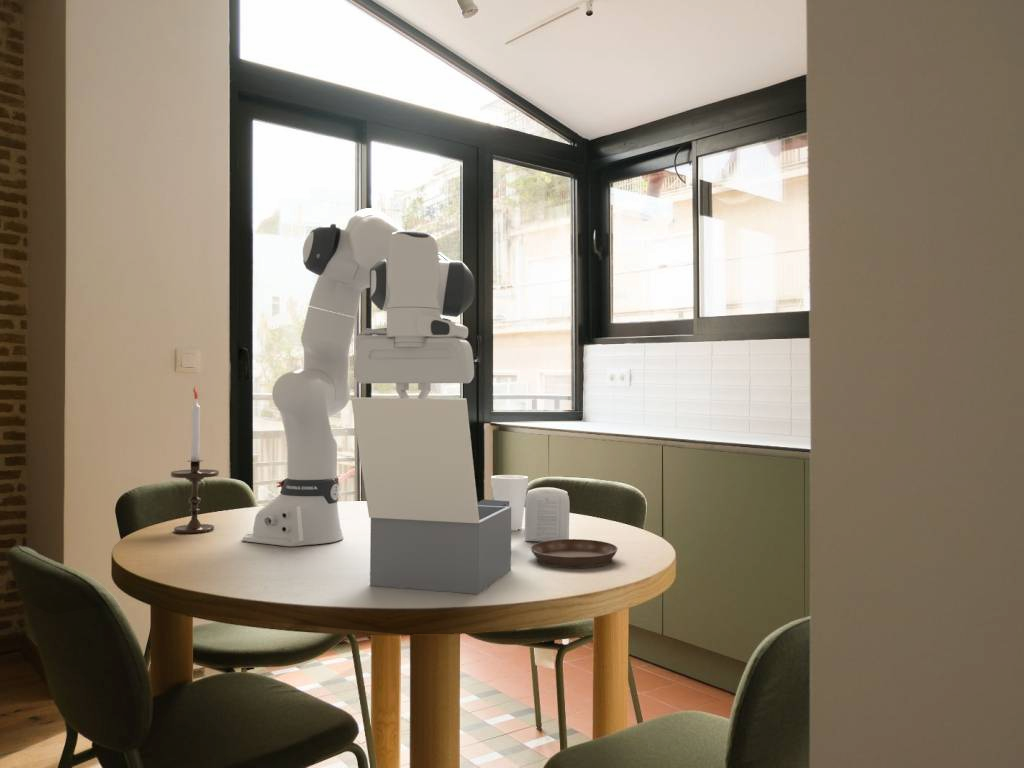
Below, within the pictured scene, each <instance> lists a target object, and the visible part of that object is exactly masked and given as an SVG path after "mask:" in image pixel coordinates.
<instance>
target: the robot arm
mask: <svg viewBox="0 0 1024 768" xmlns="http://www.w3.org/2000/svg"><path fill="white" fill-rule="evenodd" d="M336 224H337V223H331V224H330V225H324V226H323V225H322V226H318V227H316V228H313V229H312V230H311V231H310V232H309V234H308V236H307V237H306V239H305V241H304V243H303V247H302V259H303V264H304V267H305V269H306V270H308V271H310V272H311V273H313V274H315V275H318V277H317V280H316V282H315V284H314V287H313V290H312V293H311V296H310V300H309V302H308V303H309V304H308V307H307V310H306V311H307V312H306V316H305V320H304V325H303V328H302V333H301V337H300V340H301V341H300V342H301V344H302V348H303V368H299V369H295V370H291V371H289V372H285V373H284V374H282V375H281V376H279V377H278V378H277V379H276V381H275V383H274V385H273V387H272V391H271V392H272V395H271V396H272V401H273V403H274V406H275V407H276V408H277V410H278V411H279V413H280V415H281V420H282V424H283V428H284V433H285V438H286V447H287V449H286V450H287V453H286V454H287V462H286V465H287V466H286V467H287V472H286V473H287V476H286V478H284V479H283V480H281V481H277V482H276V484H277V485H276V488H281V490H280V491H279V494H278V495H277V496H276V497H275V498H274V499H272V500H271V501H269V502H268V503H267V504H266V505H265V506H264V507H262V508H261V509H259V510H258V511H257V513H256V514H255V518H254V522H253V528H252V531H250V532H248V533H245V534H244V535H243V536H242V541H243V542H250V543H259V544H266V545H275V546H282V547H300V546H310V545H319V544H320V545H323V544H329V543H334V542H338V541H341V540H343V539H344V535H343V532H342V529H341V528H342V527H341V523H340V517H339V516H340V515H339V509H338V508H339V507H338V506H339V505H338V502H339V492H340V491H339V484H340V483H339V482H340V481H339V477H337V473H338V472H337V471H338V467H337V466H338V457H337V456H338V444H337V441H336V439H335V437H334V435H333V431H332V428H331V424H330V423H331V422H330V417H331V416H334V415H336V414H337V413H339V412H340V411H342V410H343V409H344V408H345V407H346V406H348V403H349V400H350V397H351V391H350V387H349V384H348V383H349V382H348V377H349V376H348V375H349V354H350V349H351V348H350V347H351V342H352V338H353V334H354V329H355V326H356V321H357V317H358V312H359V307H360V302H361V297H362V296H361V295H362V293H363V291H364V290H365V289H369V299H370V300H371V302H372V303H373V304H374V305H375V306H376V308H378V309H379V310H380V311H383V312H386V328H385V327H382V328H364V329H363V331H361V332H359V333H358V334H357V336H356V338H355V350H356V353H355V359H354V370H353V376H354V379H355V381H356V382H357V383H359V384H396V385H395V391H396V392H397V394H398V396H399V398H410V396H409V393H408V392H407V391H409V390H410V384H417V389H418V391H420V392H419V394H418V396H417V398H428V395H429V394H430V392H431V384H470V383H471V382H472V380H473V379H474V378H475V363H474V354H473V348H472V346H471V344H470V342H469V341H468V340H467V339H468V336H469V328H468V327H467V326H465V325H464V324H461V323H458V322H455V321H452V320H451V319H448V318H445V317H455V318H457V317H458V316H461V314H463V313H464V312H465V311H467V310H468V308H469V307H470V306H471V305H472V303H473V301H474V298H475V295H476V294H475V293H476V283H475V277H474V275H473V273H472V271H471V270H470V269H469V268H468V266H467V265H466V264H465V263H464V262H463V261H461V260H452V259H450V258H449V257H448V256H446V255H445V254H443V253H442V252H440V250H439V246H438V241H437V237H436V235H433V234H432V233H430V232H424V231H414V230H413V231H411V230H405V229H403V228H401V227H400V226H399V225H398V224H396V222H395V221H394V220H393V219H392V218H391V217H390V216H388V215H387V214H386V213H384V212H382V211H380V210H378V209H375V208H374V209H373V208H363V209H361V210H358V211H356V212H355V213H354V214H352V216H351V217H350V218H349V219H348V223H347V225H346V227H344V228H342V227H340V226H337V225H336ZM441 316H444V318H442V317H441Z"/></svg>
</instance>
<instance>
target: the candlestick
mask: <svg viewBox="0 0 1024 768" xmlns="http://www.w3.org/2000/svg"><path fill="white" fill-rule="evenodd" d="M192 391H193V393H194V394H193V395H194V396H193V397H194V402H193V405H191V430H190V431H191V439H190V441H191V443H190V444H191V445H190V446H191V447H190V450H191V451H190V460H187V462H190V469H180V470H172V471H170V477H171V478H174V479H175V478H176V479H185V480H187V481H188V482H189V483H191V497H189V498H188V503H189V504H190V505H191V506H190V509H189V510H188V512H191V516H190V517H191V518H190V520H189V522H188V524H183V525H178V526H175V527H174V528H173V532H174V533H175V534H181V535H198V533H200V534H206V533H205V532H207V533H211V532H214V531H213V530H215V525H214V524H209V523H207V524H205V523H201V521H200V520H199V519H198V512H200V511H201V509H200V508H199V504H200V503H201V500H202V499H201V497H199V494H198V491H199V490H198V489H199V487H198V486H199V482H202V480H204V479H205V478H212V477H213V478H214V477H218V476H219V475H220V472H219V471H220V470H217V469H208V468H207V469H205V468H203V469H200V466H201V465H200V464H201V462H204V460H203V459H202V460H201V459H200V443H201V442H200V433H201V430H200V429H201V424H200V423H201V406H200V405H199V402H198V398H199V397H198V396H199V395H198V392H197V390H196V387H193V389H192ZM210 531H211V532H210Z"/></svg>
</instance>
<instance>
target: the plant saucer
mask: <svg viewBox="0 0 1024 768" xmlns="http://www.w3.org/2000/svg"><path fill="white" fill-rule="evenodd" d="M618 549H619V548H618V546H617V545H615V544H612V543H610V542H608V541H607V542H606V541H602V540H593V539H583V538H582V539H579V538H575V539H574V538H569V539H562V540H550V541H544V542H537V543H536V542H535V543H534V544H533V545H531V546H530V550H531V553H533V555H534V557H535V558H536V559H537V560H538V561H539V562H540V563H541V562H542V564H543V563H544V564H543V565H546V564H547V566H550V565H551V567H555V568H556V567H557V568H565V567H566V568H568V569H583V568H584V569H588V567H589V568H597V567H600V566H605V565H607V564H608V563H609V562H610V561H612V559H613V558H614V557H615V555H616V553H617V551H618Z"/></svg>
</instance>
